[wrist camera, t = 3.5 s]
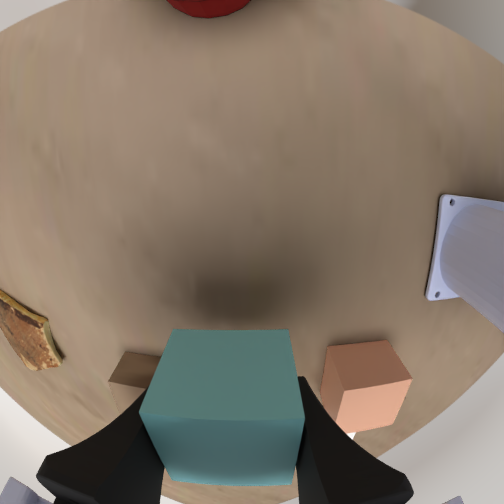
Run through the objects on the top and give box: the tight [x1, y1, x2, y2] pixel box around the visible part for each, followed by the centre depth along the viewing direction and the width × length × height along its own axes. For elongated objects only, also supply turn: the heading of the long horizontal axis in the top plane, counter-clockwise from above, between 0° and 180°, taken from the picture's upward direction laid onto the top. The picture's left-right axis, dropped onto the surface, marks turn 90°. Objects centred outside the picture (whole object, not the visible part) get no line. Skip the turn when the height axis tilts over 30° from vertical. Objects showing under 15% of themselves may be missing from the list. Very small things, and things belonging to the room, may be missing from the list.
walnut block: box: [108, 352, 161, 415], centre depth 20 cm, size 7×7×4 cm
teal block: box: [139, 329, 305, 486], centre depth 10 cm, size 5×5×5 cm
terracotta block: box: [320, 340, 412, 434], centre depth 18 cm, size 5×5×5 cm
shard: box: [0, 290, 63, 371], centre depth 19 cm, size 11×8×2 cm
